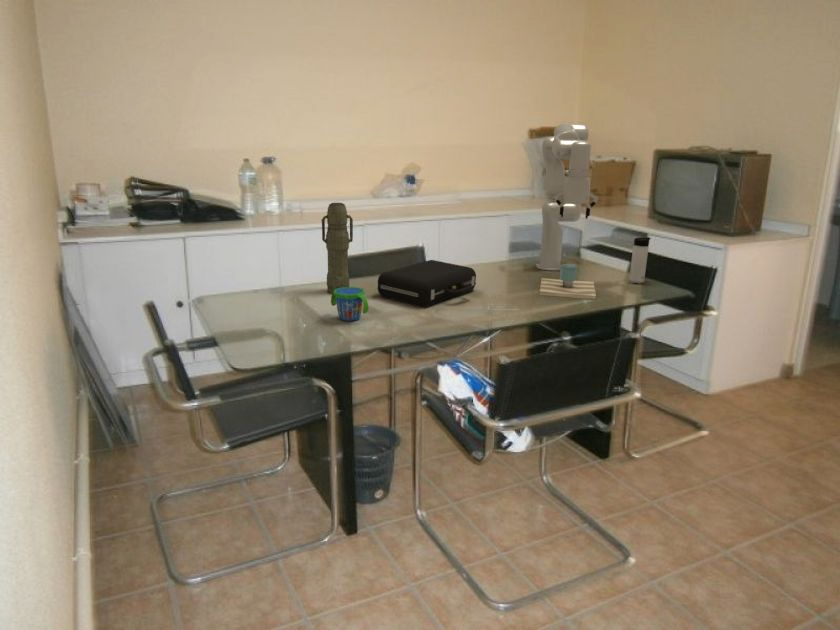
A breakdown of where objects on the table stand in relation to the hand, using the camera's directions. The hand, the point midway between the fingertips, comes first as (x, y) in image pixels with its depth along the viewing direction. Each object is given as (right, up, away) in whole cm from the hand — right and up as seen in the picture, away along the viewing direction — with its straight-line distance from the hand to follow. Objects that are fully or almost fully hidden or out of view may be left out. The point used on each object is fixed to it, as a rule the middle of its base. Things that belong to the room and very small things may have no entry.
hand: (574, 217), depth 263 cm
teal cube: (-1, -24, +8) cm, 26 cm away
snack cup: (-87, -41, -34) cm, 101 cm away
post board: (-1, -29, +9) cm, 30 cm away
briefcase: (-57, -32, -2) cm, 65 cm away
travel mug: (+33, -25, +24) cm, 48 cm away
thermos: (-95, -30, -1) cm, 99 cm away
